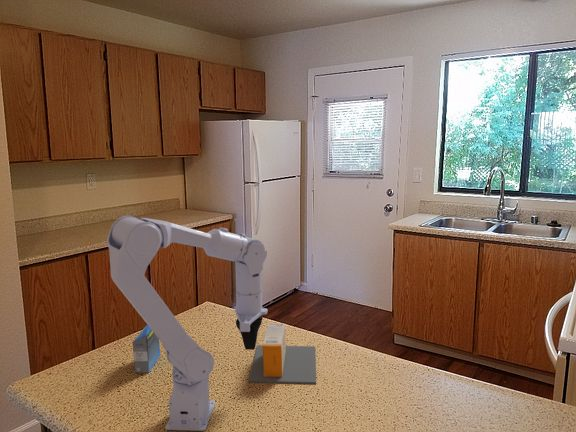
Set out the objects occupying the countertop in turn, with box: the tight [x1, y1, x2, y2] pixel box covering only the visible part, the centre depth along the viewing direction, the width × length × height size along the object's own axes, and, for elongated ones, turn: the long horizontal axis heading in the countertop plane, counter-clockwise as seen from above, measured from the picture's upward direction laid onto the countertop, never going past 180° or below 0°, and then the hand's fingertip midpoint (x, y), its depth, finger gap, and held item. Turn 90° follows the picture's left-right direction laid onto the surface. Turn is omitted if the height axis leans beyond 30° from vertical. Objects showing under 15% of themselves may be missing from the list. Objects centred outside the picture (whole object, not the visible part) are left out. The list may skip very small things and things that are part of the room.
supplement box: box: [262, 322, 287, 377], centre depth 109 cm, size 8×5×13 cm
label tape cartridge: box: [132, 324, 161, 374], centre depth 110 cm, size 9×4×12 cm, turn 179°
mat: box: [248, 344, 317, 385], centre depth 110 cm, size 18×16×1 cm
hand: (250, 348), depth 98 cm, fingers closed
